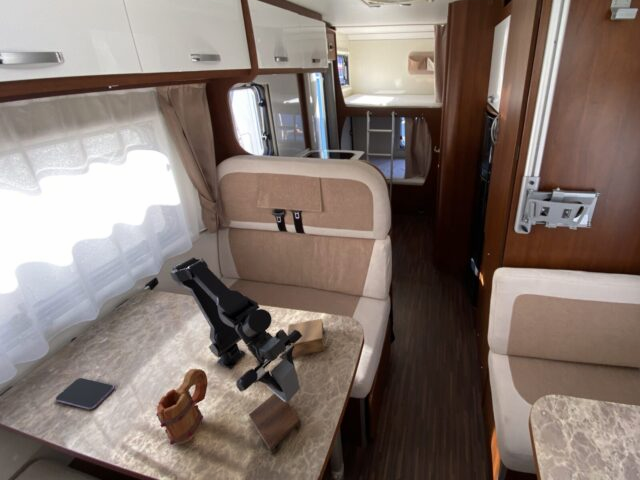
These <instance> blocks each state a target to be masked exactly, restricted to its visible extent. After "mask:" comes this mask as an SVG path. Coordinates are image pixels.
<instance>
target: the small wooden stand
mask: <svg viewBox="0 0 640 480" xmlns="http://www.w3.org/2000/svg"><path fill="white" fill-rule="evenodd" d="M248 416H249V419H250V421H251V423H252V425H253V426H254V428H255V429H256V431H257V433H258V434H259V436H260V438H261V439H262V441H263V442H264V444H265V446H266V447H267V448H268V450H269V452H270V454H271V455H273V454H274V453H275V452H276V451H277V449H276V446H277V445H278V444H279V443H280V442H281V441H282V440H283V439H284V438H285V437H286V436H287V435H288V434H289V433H291V432H292V431H293V430H294V429H295V428H297V429H300V428H301V427H302V421H301V418H300V417H299V416H298V414H297V413H296V412H295V410H294V409H293V408H292V407H291V405H290V404H289V402H288V403H287V402H284V401H283V400H282V399H281V398H279V397H278V396H277V395H276V394H275V393H273V394H272V395H270V396H269V397H268V398H267V399H266V400H265V401H264V402H262V403H260V405H258V406H257V407H256V408H255V409H254V410H252V411H251V412H250V413H249V414H248Z"/></svg>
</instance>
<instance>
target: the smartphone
mask: <svg viewBox="0 0 640 480" xmlns="http://www.w3.org/2000/svg"><path fill="white" fill-rule="evenodd" d="M114 390H115V385H114V384H110V383H106V382H101V381H97V380H93V379H88V378H84V377H78V378H76V379H75V380H74V381H72V383H70V384H69V385H68V386H67V387H66V388H64V389H63V390H62V391H61V392H60V393H58V395H56V397H55V399H54V400H55V402H58V403H61V404H62V403H63V404H66V405H70V406H74V407H79V408H82V409H85V410H89V411H90V410H94V409H96V408H97V406H99V404H101V403H102V402H103V401H104V400H105V399H106V398H107V397H108V396H109V395H110V394H111V393H112V392H113V391H114Z"/></svg>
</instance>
